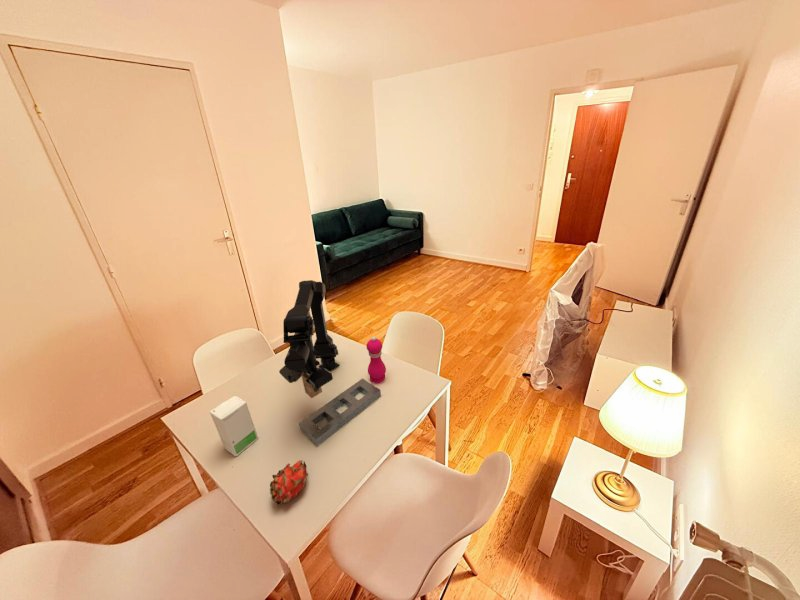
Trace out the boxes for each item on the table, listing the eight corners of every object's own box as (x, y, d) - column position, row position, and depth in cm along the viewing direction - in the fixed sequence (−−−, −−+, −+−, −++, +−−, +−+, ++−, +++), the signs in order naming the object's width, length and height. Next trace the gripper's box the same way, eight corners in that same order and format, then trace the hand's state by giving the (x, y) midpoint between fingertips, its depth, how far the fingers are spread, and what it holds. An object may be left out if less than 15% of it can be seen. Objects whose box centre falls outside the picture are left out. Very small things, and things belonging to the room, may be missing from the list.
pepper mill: (387, 372, 123) (384, 331, 114) (385, 385, 117) (381, 342, 108) (370, 372, 124) (365, 331, 115) (367, 384, 117) (361, 342, 109)
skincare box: (235, 457, 91) (219, 421, 84) (223, 448, 94) (207, 412, 87) (259, 437, 97) (246, 401, 90) (247, 429, 100) (234, 394, 94)
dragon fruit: (272, 515, 77) (305, 479, 87) (290, 513, 72) (323, 475, 83) (255, 487, 77) (290, 454, 87) (272, 483, 72) (307, 449, 83)
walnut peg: (305, 392, 100) (300, 373, 97) (315, 386, 103) (311, 367, 99) (311, 398, 98) (307, 379, 94) (322, 391, 100) (318, 373, 97)
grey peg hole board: (300, 429, 99) (298, 423, 98) (363, 384, 117) (362, 378, 116) (317, 446, 93) (315, 439, 92) (381, 396, 111) (380, 389, 110)
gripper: (266, 350, 93) (277, 388, 100) (295, 376, 82) (306, 417, 88) (298, 335, 100) (306, 371, 107) (329, 357, 89) (337, 396, 95)
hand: (313, 388), depth 99 cm, fingers closed on walnut peg, 4 cm apart
